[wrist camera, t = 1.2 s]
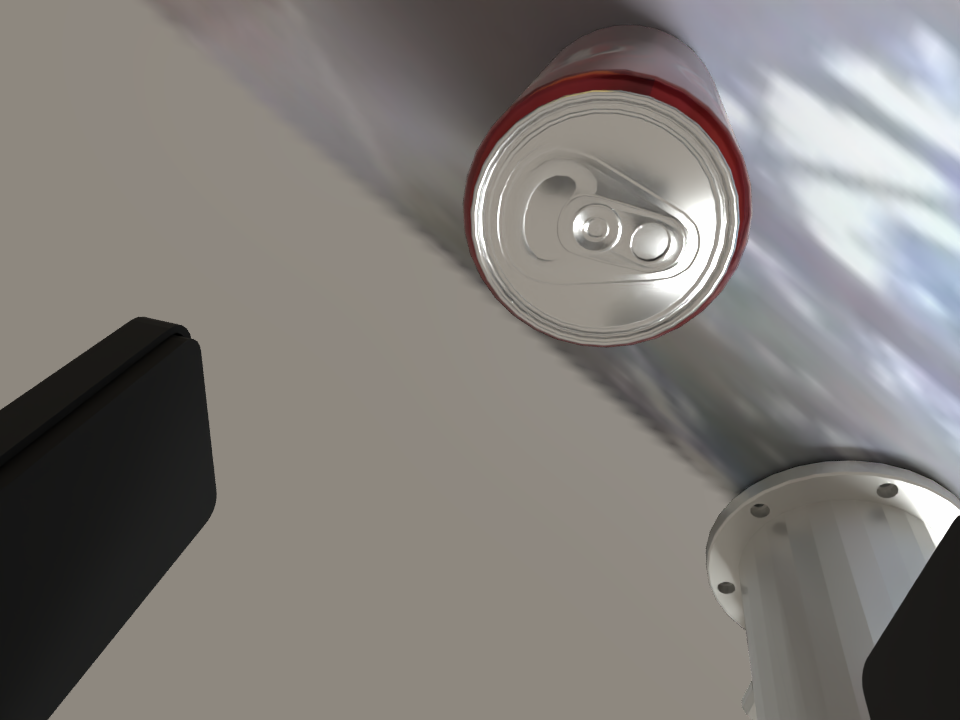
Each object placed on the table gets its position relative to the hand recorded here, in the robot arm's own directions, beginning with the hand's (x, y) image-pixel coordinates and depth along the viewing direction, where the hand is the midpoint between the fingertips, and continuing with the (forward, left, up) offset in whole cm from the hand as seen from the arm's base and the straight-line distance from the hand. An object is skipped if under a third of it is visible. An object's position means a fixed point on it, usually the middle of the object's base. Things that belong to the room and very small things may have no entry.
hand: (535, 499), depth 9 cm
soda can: (0, 0, -22) cm, 22 cm away
